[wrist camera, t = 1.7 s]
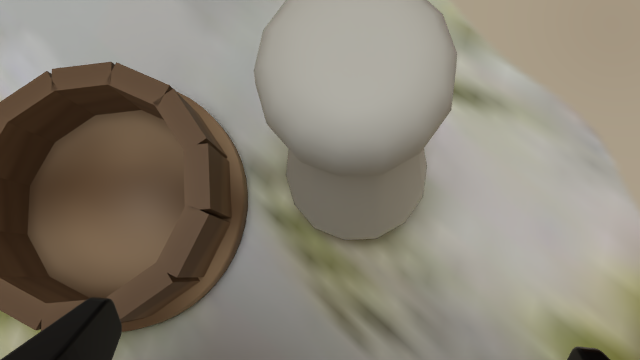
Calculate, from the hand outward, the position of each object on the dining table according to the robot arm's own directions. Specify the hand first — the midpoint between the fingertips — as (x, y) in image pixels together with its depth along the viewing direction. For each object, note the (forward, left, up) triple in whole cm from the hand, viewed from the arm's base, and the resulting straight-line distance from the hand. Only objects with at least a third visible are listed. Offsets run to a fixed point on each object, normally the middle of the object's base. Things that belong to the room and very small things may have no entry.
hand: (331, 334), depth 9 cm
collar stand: (+5, +10, -12) cm, 16 cm away
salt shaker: (+5, -1, -12) cm, 13 cm away
